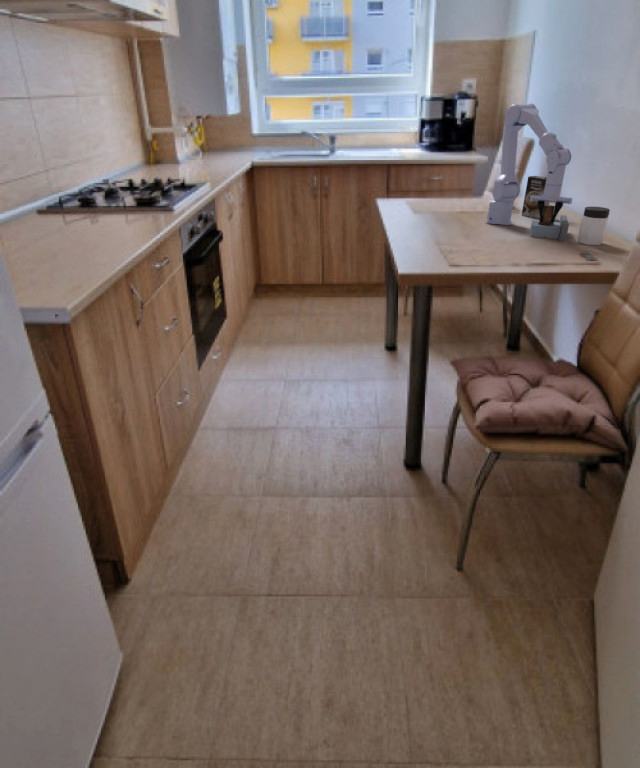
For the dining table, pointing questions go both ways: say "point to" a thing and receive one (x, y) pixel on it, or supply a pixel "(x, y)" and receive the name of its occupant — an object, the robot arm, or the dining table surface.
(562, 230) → the wall
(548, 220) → the dowel
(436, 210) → the dining table surface
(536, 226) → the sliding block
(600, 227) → the jar
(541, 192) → the coffee box
